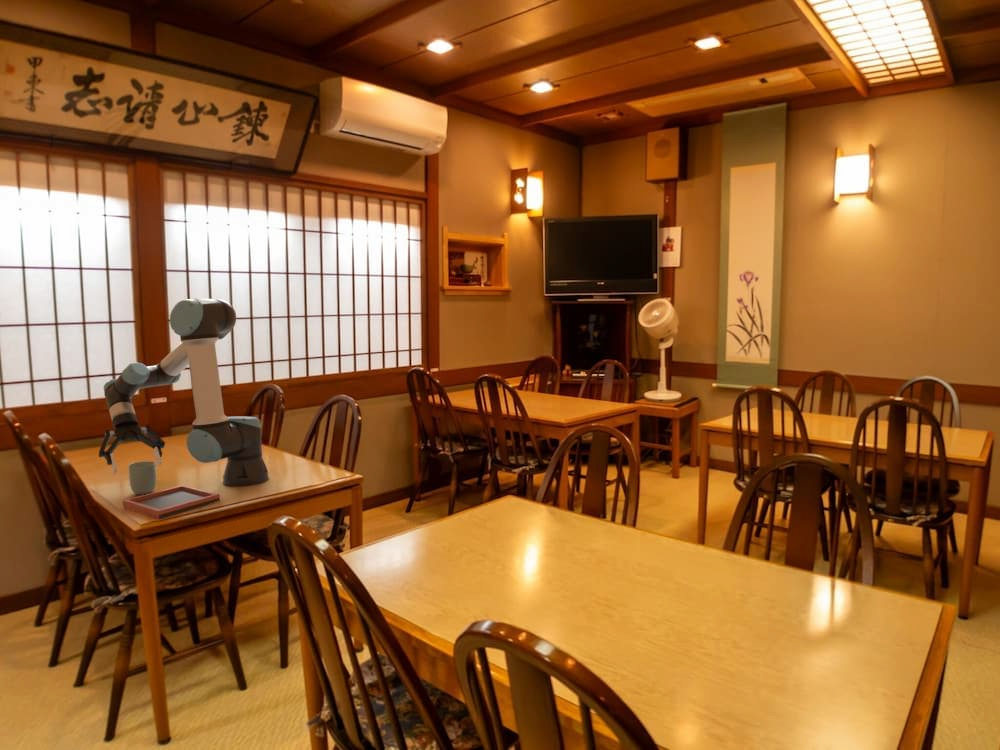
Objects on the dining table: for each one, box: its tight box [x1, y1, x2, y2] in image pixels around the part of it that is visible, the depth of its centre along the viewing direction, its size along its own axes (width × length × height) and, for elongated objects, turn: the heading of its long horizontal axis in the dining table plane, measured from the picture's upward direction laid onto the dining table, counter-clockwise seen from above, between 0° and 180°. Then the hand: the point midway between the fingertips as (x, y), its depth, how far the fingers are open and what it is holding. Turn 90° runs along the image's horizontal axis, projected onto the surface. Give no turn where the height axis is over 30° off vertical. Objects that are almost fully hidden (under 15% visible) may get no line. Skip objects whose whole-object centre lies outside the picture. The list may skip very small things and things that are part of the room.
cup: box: [128, 460, 157, 496], centre depth 222 cm, size 8×8×10 cm
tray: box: [122, 484, 221, 520], centre depth 210 cm, size 20×20×2 cm
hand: (138, 468), depth 224 cm, fingers open, 13 cm apart
